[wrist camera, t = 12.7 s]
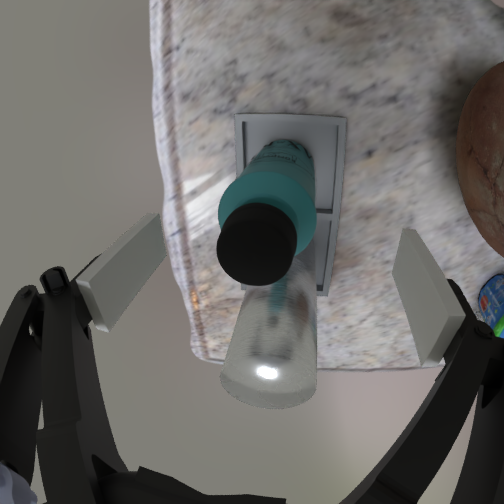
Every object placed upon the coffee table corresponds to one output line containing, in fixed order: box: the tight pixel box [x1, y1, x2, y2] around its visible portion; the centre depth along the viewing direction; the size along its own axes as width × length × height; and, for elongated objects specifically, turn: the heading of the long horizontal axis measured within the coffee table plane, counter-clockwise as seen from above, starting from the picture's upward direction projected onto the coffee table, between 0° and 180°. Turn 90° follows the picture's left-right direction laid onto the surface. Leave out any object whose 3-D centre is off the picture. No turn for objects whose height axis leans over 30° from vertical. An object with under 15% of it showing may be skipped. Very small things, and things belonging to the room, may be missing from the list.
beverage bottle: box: [216, 139, 317, 286], centre depth 22 cm, size 6×7×20 cm
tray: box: [234, 113, 347, 296], centre depth 33 cm, size 12×22×2 cm, turn 1°
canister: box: [220, 239, 317, 409], centre depth 28 cm, size 7×7×20 cm
